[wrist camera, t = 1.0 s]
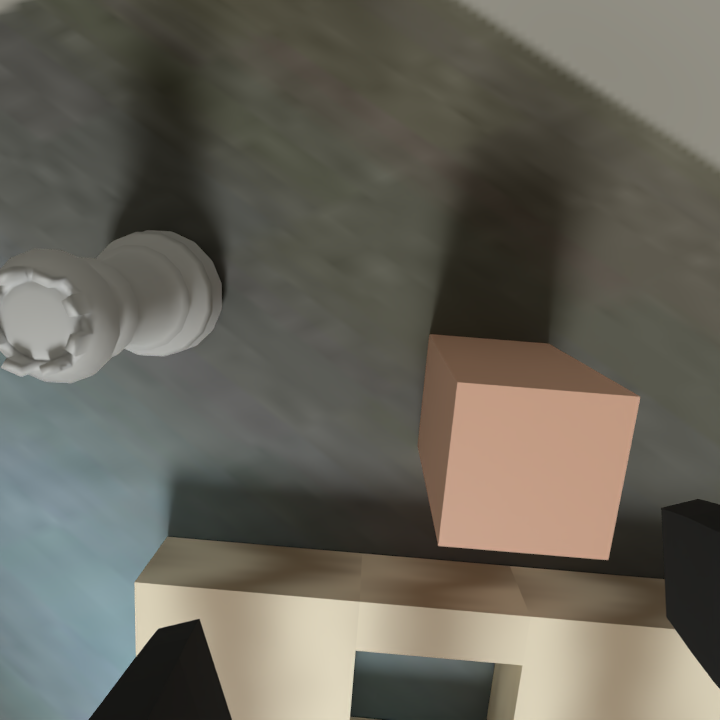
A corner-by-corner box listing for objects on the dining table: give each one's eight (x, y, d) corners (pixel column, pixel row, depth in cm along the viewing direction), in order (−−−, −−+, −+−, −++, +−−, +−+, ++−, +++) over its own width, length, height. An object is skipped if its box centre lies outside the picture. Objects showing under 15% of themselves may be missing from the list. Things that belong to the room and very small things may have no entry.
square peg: (548, 343, 20) (640, 396, 13) (531, 454, 21) (608, 560, 14) (429, 334, 20) (457, 382, 13) (417, 445, 21) (438, 545, 14)
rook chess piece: (93, 240, 19) (-100, 237, 12) (212, 220, 19) (98, 204, 11) (123, 358, 20) (-38, 430, 12) (237, 342, 20) (146, 405, 12)
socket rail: (708, 583, 21) (761, 636, 18) (660, 782, 24) (700, 859, 21) (167, 536, 22) (134, 582, 19) (168, 737, 24) (138, 806, 21)
